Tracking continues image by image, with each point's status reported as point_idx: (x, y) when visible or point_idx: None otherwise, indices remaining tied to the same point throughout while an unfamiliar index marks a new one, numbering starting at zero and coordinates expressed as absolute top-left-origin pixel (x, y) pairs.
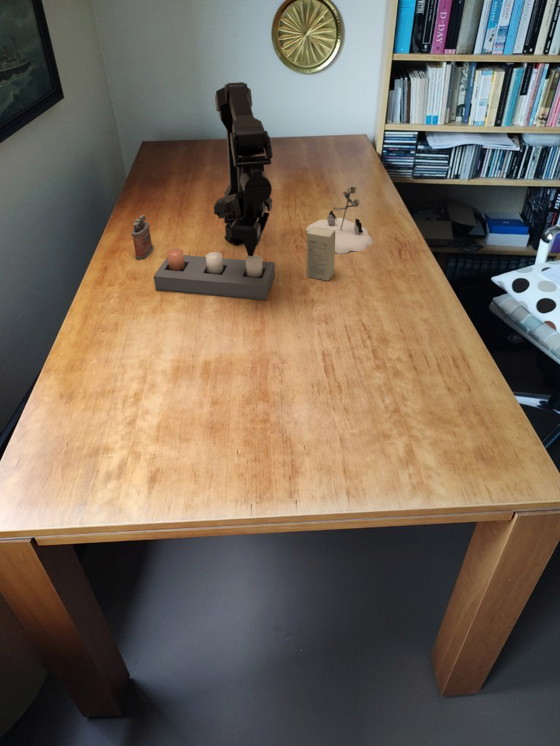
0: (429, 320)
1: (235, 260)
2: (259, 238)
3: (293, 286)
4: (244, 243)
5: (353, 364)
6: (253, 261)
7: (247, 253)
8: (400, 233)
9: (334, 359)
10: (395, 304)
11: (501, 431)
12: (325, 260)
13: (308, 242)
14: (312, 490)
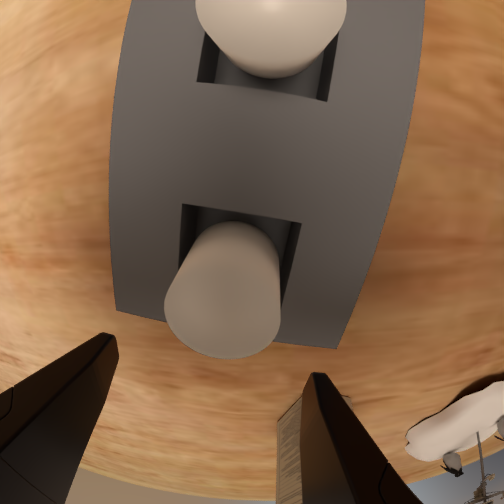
0: (155, 477)
1: (387, 154)
2: (301, 448)
3: (248, 357)
4: (1, 398)
5: None
6: (184, 315)
7: (87, 341)
8: (433, 470)
9: (13, 367)
10: (190, 469)
11: None
12: (280, 470)
13: None
14: None
